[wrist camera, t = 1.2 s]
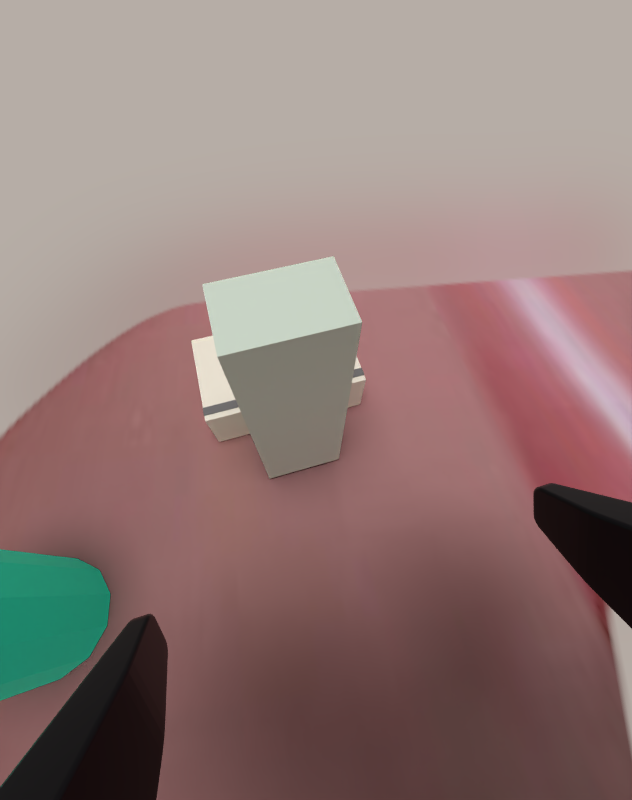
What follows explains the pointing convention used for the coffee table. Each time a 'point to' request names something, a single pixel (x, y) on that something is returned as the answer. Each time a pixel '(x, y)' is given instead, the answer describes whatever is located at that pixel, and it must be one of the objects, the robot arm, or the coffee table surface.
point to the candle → (47, 618)
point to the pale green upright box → (288, 358)
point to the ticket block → (220, 398)
